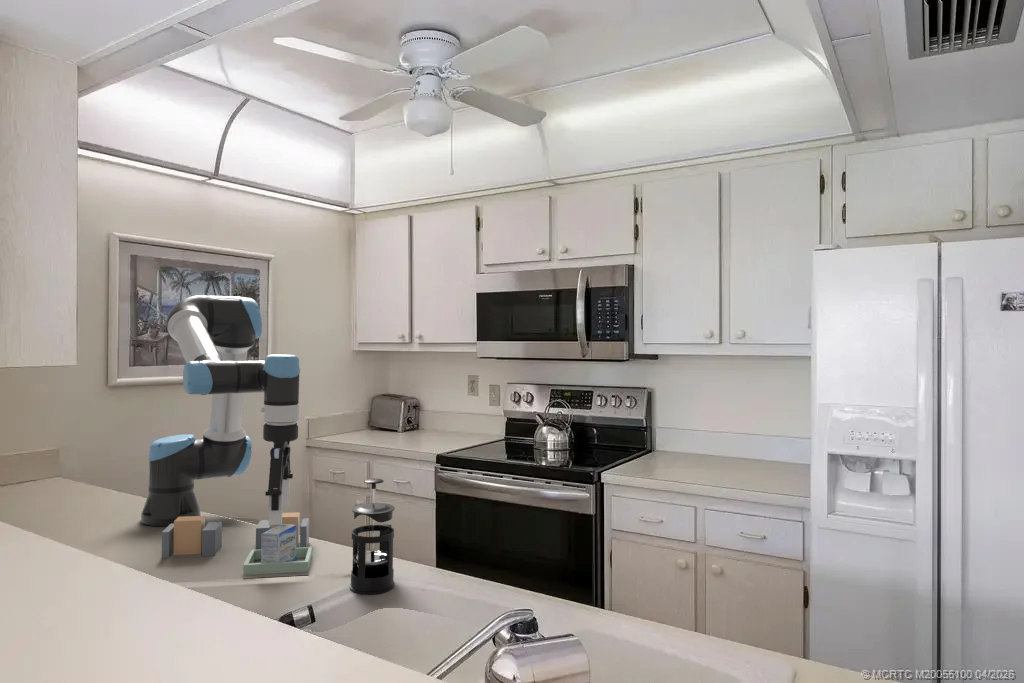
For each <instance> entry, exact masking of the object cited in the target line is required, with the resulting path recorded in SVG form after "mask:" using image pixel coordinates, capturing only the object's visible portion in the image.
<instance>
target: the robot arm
mask: <svg viewBox="0 0 1024 683" xmlns="http://www.w3.org/2000/svg"><path fill="white" fill-rule="evenodd" d="M262 320H263V319H262V314H261V310H260V307H259V305H258V303H257V301H256V300H255V299H253V298H252V297H245V296H239V295H238V296H236V295H235V296H233V295H232V296H231V295H229V296H228V295H226V296H225V295H224V296H223V295H205V294H204V295H192V296H189V297H186V298H184V299H181V300H180V301H179V302H177V303H175V305H174V306H173V307H172V308H171V309H170V310H169V311H168V313H167V316H166V320H165V321H166V323H165V324H166V330H167V332H168V335H169V336H170V337H171V339H173V340H174V341H176V342H177V344H178V346H179V349H180V352H181V353H182V356H183V359H184V361H185V364H184V366H183V369H182V384H183V389H184V392H185V393H187V394H188V395H200V396H207V395H211V400H210V401H211V402H210V417H209V427H207V428H206V429H204V431H203V437H202V438H196V437H195V435H194V434H191V433H189V434H188V433H187V434H186V433H185V434H176V435H169V436H166V437H161V438H159V439H156V440H154V441H153V442H152V443H151V444H150V445H149V448H148V457H147V461H148V486H147V487H148V493H147V496H146V498H145V499H146V500H145V502H144V505H143V507H142V510H141V513H140V523H141V524H142V525H146V526H151V527H168V526H169V525H170V524H173V523H174V521H175V520H176V519H177V518H178V517H185V516H201V512H202V511H201V506H200V503H199V500H198V497H197V495H196V492H195V481H199V480H207V479H216V478H217V479H218V478H232V477H235V476H241V475H243V474H244V473H245V472H246V471H247V470H248V469H249V467H250V463H251V460H252V453H253V452H252V447H253V443H252V440H251V437H250V436H248V435H247V431H246V430H245V429H244V428H243V427H242V422H243V410H244V408H243V407H244V395H245V394H250V393H251V394H253V393H254V394H255V393H263V407H261V409H260V412H261V413H264V414H263V421H264V422H265V423H264V424H263V426H262V428H263V430H262V431H263V432H262V436H263V437H262V438H263V440H264V441H265V442H268V443H269V442H270V443H273V446H272V447H271V449H270V450H269V452H270V453H269V454H270V455H269V456H270V461H269V475H268V476H269V477H268V489H267V491H265V496H266V497H267V496H268V520H269V522H268V525H281V524H282V513H283V508H289V507H290V479H294V478H293V477H294V474H293V473H291V472H292V471H291V446H290V442H293V441H296V440H297V439H299V424H298V423H297V421H299V418H300V415H299V414H300V402H299V401H300V398H299V397H300V396H299V395H300V374H301V373H300V372H301V368H300V359H299V357H298V355H295V354H285V353H283V354H279V353H278V354H277V353H276V354H273V353H272V354H268V355H266V356H265V357H264V359H259V360H247V359H248V351H249V350H250V349H251V348H252V347H253V346H254V342H255V340H257V339H259V338H261V336H262V333H263V332H262V331H263V322H262Z"/></svg>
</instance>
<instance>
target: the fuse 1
mask: <svg viewBox="0 0 1024 683" xmlns="http://www.w3.org/2000/svg"><path fill="white" fill-rule="evenodd" d="M205 526H206V515H200V516H185V517H178V518H177V519H176V520H175V521H174V555H188V554H201V553H202V530H203V529H204V527H205Z"/></svg>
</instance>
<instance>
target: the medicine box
mask: <svg viewBox="0 0 1024 683" xmlns="http://www.w3.org/2000/svg"><path fill="white" fill-rule="evenodd" d="M290 561H297V558H296V525H291V524H281V525H278V526H276V527H274V528H272V529H270V530H268V531H266V532H264V533H262V534H261V559H260V563H270V562H290Z"/></svg>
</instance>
